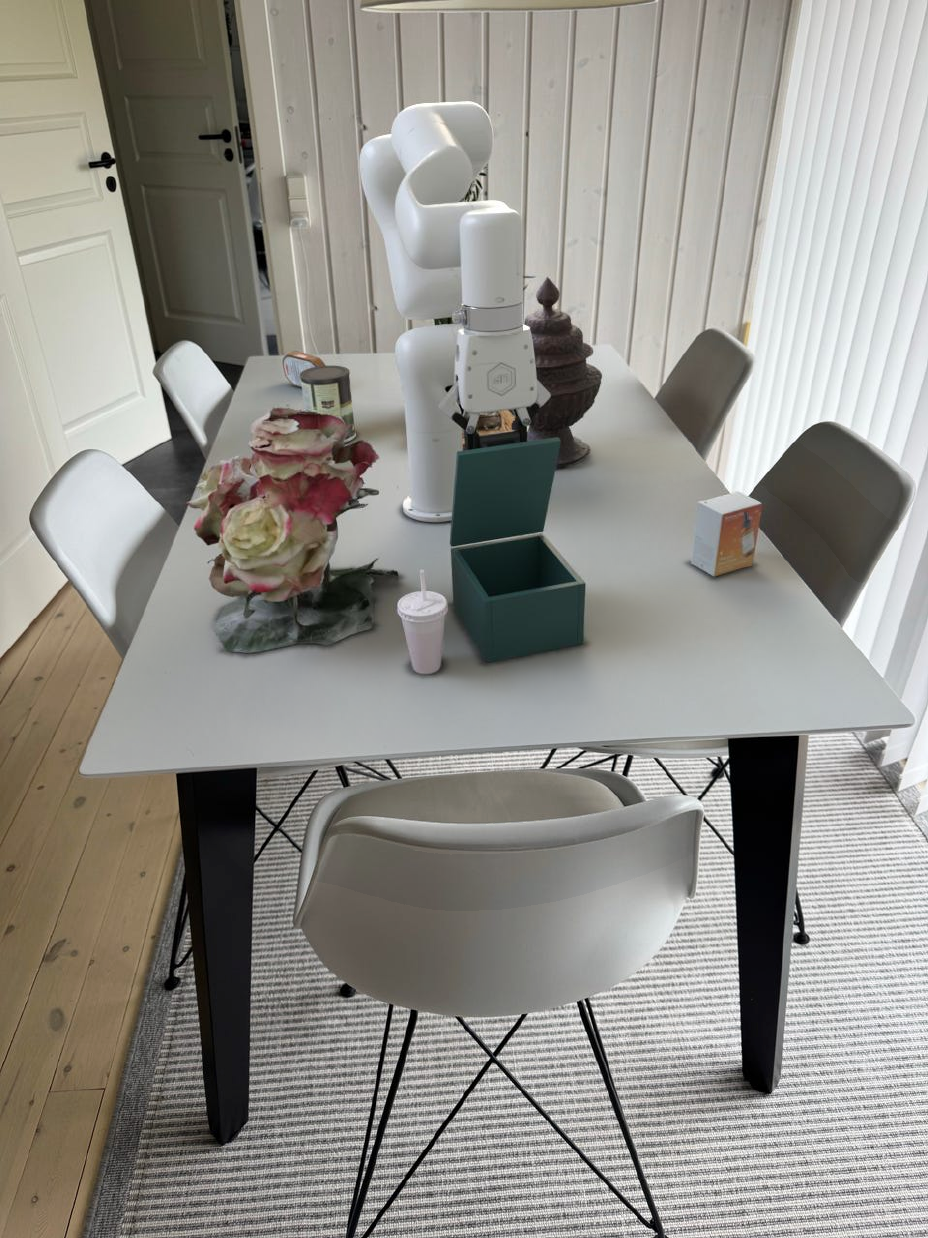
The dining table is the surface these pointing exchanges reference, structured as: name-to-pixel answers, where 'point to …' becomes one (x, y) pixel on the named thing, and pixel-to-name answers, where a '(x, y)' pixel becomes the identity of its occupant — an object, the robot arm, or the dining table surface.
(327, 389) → the coffee can
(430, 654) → the smoothie
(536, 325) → the decorative urn
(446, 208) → the robot arm
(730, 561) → the small box
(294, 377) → the tin
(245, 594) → the rose bouquet
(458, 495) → the bin lid
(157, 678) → the dining table surface
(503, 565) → the bin
